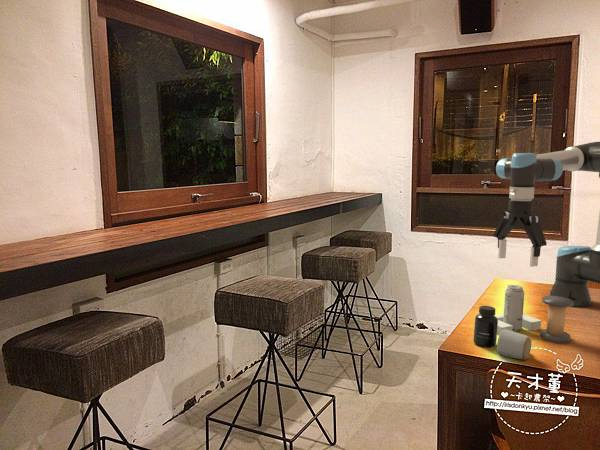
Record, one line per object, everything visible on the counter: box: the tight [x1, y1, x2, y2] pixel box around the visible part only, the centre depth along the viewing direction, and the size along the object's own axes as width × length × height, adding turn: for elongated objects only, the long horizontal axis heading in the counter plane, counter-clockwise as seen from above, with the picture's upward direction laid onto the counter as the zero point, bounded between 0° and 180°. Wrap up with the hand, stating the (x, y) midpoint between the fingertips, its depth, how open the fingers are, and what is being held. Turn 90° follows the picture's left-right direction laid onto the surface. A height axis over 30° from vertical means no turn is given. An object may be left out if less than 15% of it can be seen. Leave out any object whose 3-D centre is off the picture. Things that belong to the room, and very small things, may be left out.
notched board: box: [494, 313, 542, 336], centre depth 172 cm, size 18×10×3 cm, turn 113°
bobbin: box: [539, 295, 574, 344], centre depth 162 cm, size 9×9×13 cm
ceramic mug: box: [496, 329, 532, 361], centre depth 149 cm, size 11×8×8 cm
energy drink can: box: [503, 284, 525, 332], centre depth 170 cm, size 6×6×15 cm
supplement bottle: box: [473, 305, 498, 348], centre depth 157 cm, size 7×7×12 cm
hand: (517, 262), depth 168 cm, fingers open, 13 cm apart
